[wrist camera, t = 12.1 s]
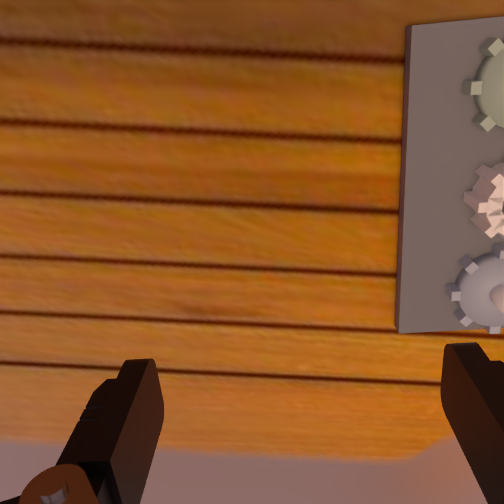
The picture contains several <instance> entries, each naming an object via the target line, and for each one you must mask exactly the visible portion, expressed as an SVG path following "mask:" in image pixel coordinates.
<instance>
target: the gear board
mask: <svg viewBox="0 0 504 504" xmlns="http://www.w3.org/2000/svg"><path fill="white" fill-rule="evenodd" d="M500 162H504V16H503V17H493V18H483V19H473V20H463V21H453V22H443V23H433V24H423V25H413V26H406V47H405V73H404V99H403V125H402V151H401V177H400V203H399V228H398V254H397V280H396V306H395V326H396V328H397V331H398V333H415V332H433V331H452V330H470V329H486V330H487V331H488V333H489V334H498V333H500V329H501V328H504V238H502V237H501V236H500V235H499V234H498V233H497V234H496V235H495V236H494V237H492V238H490V237H489V236H488V235H487V234H486V233H484V232H483V231H482V230H481V229H480V228H479V227H477V226H476V225H475V224H474V223H473V222H472V221H471V220H470V218H471V217H472V216H473V215H475V214H476V213H475V211H474V209H472V208H471V207H470V206H469V205H467V204H466V203H465V202H464V201H463V197H464V192H467V191H472V188H473V186H474V185H475V183H476V182H477V180H478V179H479V178H480V176H479V175H478V174H477V173H476V172H475V171H476V170H477V169H478V168H479V167H480V166H481V165H482V164H484V165H485V166H487V167H489V168H491V167H493V166H495V165H496V164H498V163H500ZM502 211H504V201H503V206H502Z"/></svg>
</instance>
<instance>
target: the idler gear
mask: <svg viewBox="0 0 504 504" xmlns="http://www.w3.org/2000/svg"><path fill="white" fill-rule="evenodd" d="M475 172H476V173H477V174H478V175H479V176H480V178H479V179H478V180H477V182H476V183H475V185H474V186H473V188H472V191H467V192H464V197H463V201H464V202H465V203H466V204H467V205H469V206H470V207H471V208H472V209H474V211H475V213H476V214H475V215H473V216H472V217H471V218H470V220H471V221H472V222H473V223H474V224H475V225H476V226H477V227H479V228H480V229H481V230H482V231H483V232H484V233H486V234H487V235H488V236H489V237H490V238H492V237H494V236H495V235H496V234H497V233H498V234H499V235H500V236H501V237H502V238H504V211H502V206H503V201H504V162H500V163H498V164H496V165H495V166H493V167H491V168H489V167H487V166H485V165H484V164H482V165H481V166H480V167H479V168H478V169H477V170H476V171H475Z"/></svg>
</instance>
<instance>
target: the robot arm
mask: <svg viewBox="0 0 504 504" xmlns="http://www.w3.org/2000/svg"><path fill="white" fill-rule="evenodd" d="M441 401H442V406H443V410H444V412H445V415H446V417H447V419H448V421H449V423H450V425H451V427H452V429H453V431H454V434H455V436H456V438H457V440H458V442H459V444H460V446H461V448H462V450H463V452H464V455H465V456H466V459H467V461H468V463H469V465H470V467H471V469H472V471H473V473H474V475H475V478H476V480H477V482H478V484H479V486H480V488H481V490H482V492H483V494H484V496H485V498H486V501H487V503H488V504H504V363H503V362H502V361H500V360H499V361H490V360H489V358H488V357H487V355H486V354H485V353H484V351H483V350H482V348H481V347H480V346H479V344H478V343H476V342H473V343H454V344H446V346H445V348H444V356H443V367H442V378H441ZM163 419H164V402H163V397H162V392H161V387H160V383H159V378H158V373H157V368H156V364H155V361H154V360H153V359H133V360H126V361H125V362H124V363H123V366H122V368H121V370H120V372H119V374H118V376H117V378H116V379H107V380H106V381H105V382H103V383H102V384H101V385H100V386H99V387H98V388H97V389H96V390H95V391H94V392H93V394H92V396H91V398H90V400H89V401H88V403H87V405H86V409H84V411H83V413H82V415H81V417H80V421H79V422H78V423H77V425H76V427H75V429H74V430H73V432H72V434H71V436H70V438H69V440H68V442H67V444H66V446H65V448H64V450H63V452H62V454H61V456H60V458H59V459H58V461H57V463H56V465H55V466H54V467H51V468H49V469H46V470H45V471H43V472H41V473H40V474H39V475H37V476H36V477H34V478H33V479H32V480H31V481H30V482H29V483H28V485H27V486H26V487H25V489H24V490H23V492H22V494H21V495H20V496H18V497H15V498H12V499H9V500H5V501H2V502H0V504H140V501H141V497H142V494H143V491H144V487H145V484H146V480H147V477H148V473H149V470H150V466H151V463H152V459H153V456H154V453H155V449H156V446H157V442H158V439H159V435H160V432H161V428H162V425H163Z"/></svg>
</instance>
